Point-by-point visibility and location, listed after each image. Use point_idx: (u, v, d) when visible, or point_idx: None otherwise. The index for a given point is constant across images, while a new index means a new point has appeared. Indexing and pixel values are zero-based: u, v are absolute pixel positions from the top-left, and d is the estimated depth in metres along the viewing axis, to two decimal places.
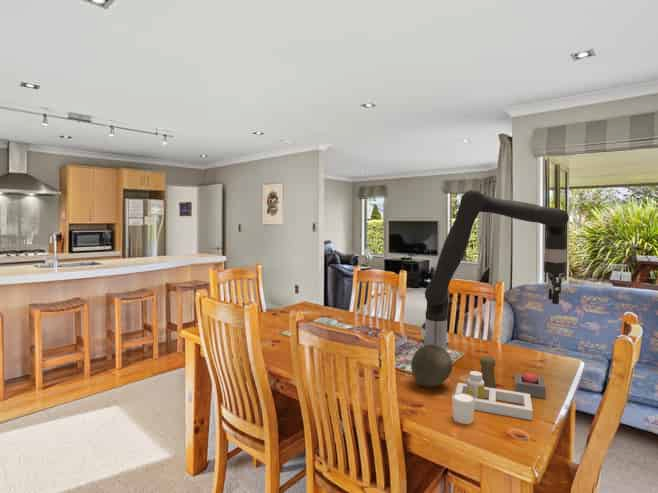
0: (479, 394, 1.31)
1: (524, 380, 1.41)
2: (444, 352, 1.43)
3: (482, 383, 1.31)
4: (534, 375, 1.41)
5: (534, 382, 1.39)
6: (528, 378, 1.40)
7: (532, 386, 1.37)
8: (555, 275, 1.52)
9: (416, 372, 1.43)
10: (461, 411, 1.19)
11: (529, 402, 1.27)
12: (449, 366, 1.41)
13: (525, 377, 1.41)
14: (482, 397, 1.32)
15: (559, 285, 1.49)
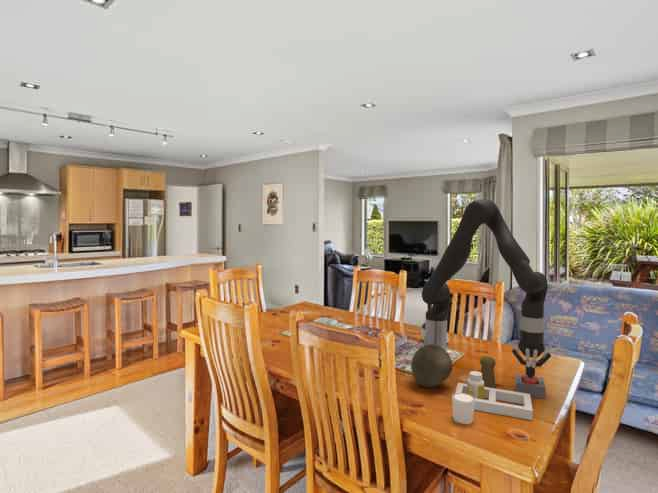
0: (479, 394, 1.31)
1: None
2: (444, 352, 1.43)
3: (482, 383, 1.31)
4: (534, 377, 1.41)
5: None
6: (528, 380, 1.40)
7: (532, 386, 1.37)
8: None
9: (416, 372, 1.43)
10: (461, 411, 1.19)
11: (529, 402, 1.27)
12: (449, 366, 1.41)
13: (525, 379, 1.41)
14: (482, 397, 1.32)
15: None
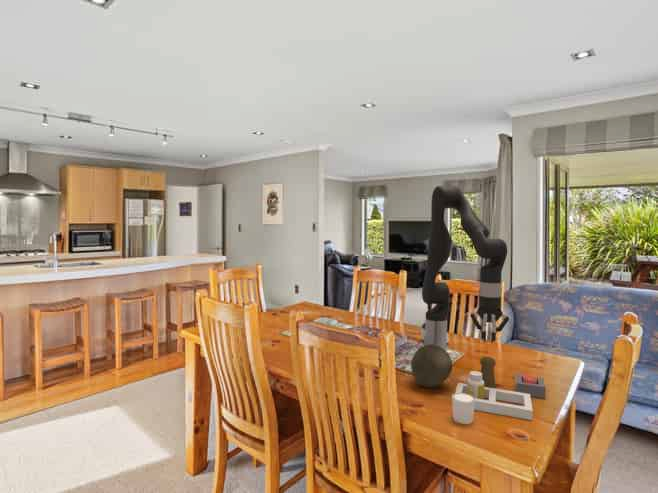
0: (479, 394, 1.31)
1: None
2: (444, 352, 1.43)
3: (482, 383, 1.31)
4: (534, 378, 1.41)
5: None
6: (528, 381, 1.40)
7: (532, 386, 1.37)
8: None
9: (416, 372, 1.43)
10: (461, 411, 1.19)
11: (529, 402, 1.27)
12: (449, 366, 1.41)
13: (525, 380, 1.41)
14: (482, 397, 1.32)
15: None
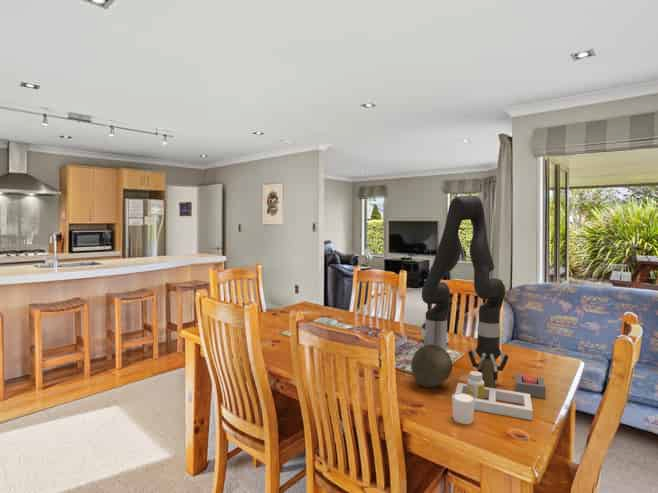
0: (479, 394, 1.31)
1: None
2: (444, 352, 1.43)
3: (482, 383, 1.31)
4: (534, 378, 1.41)
5: None
6: (528, 381, 1.40)
7: (532, 386, 1.37)
8: (499, 349, 1.43)
9: (416, 372, 1.43)
10: (461, 411, 1.19)
11: (529, 402, 1.27)
12: (449, 366, 1.41)
13: (525, 380, 1.41)
14: (482, 397, 1.32)
15: None
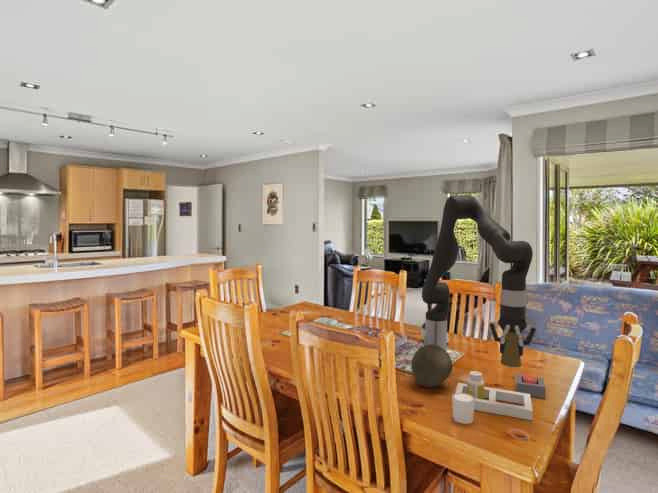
0: (479, 394, 1.31)
1: None
2: (444, 352, 1.43)
3: (482, 383, 1.31)
4: (534, 378, 1.41)
5: None
6: (528, 381, 1.40)
7: (532, 386, 1.37)
8: (525, 321, 1.26)
9: (416, 372, 1.43)
10: (461, 411, 1.19)
11: (529, 402, 1.27)
12: (449, 366, 1.41)
13: (525, 380, 1.41)
14: (482, 397, 1.32)
15: None
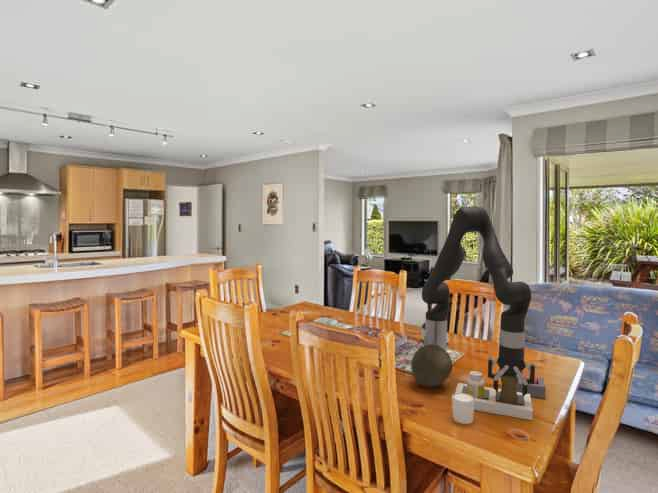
0: (479, 394, 1.31)
1: None
2: (444, 352, 1.43)
3: (482, 383, 1.31)
4: None
5: None
6: None
7: (532, 386, 1.37)
8: None
9: (416, 372, 1.43)
10: (461, 411, 1.19)
11: (529, 402, 1.27)
12: (449, 366, 1.41)
13: None
14: (482, 397, 1.32)
15: None
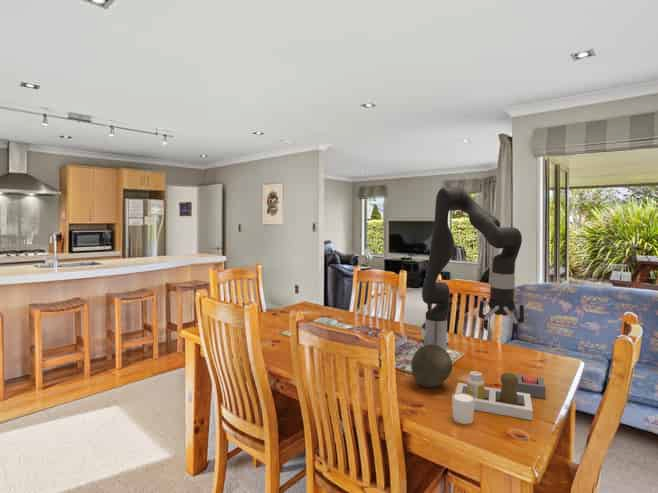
0: (479, 394, 1.31)
1: None
2: (444, 352, 1.43)
3: (482, 383, 1.31)
4: (534, 378, 1.41)
5: None
6: (528, 381, 1.40)
7: (532, 386, 1.37)
8: (513, 302, 1.35)
9: (416, 372, 1.43)
10: (461, 411, 1.19)
11: (529, 402, 1.27)
12: (449, 366, 1.41)
13: (525, 380, 1.41)
14: (482, 397, 1.32)
15: None
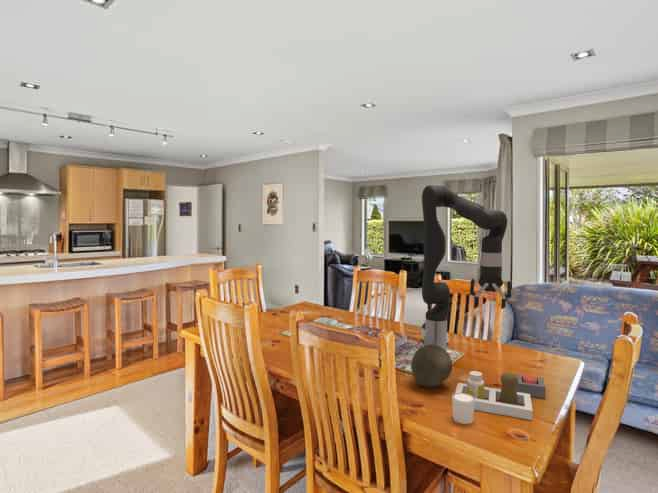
0: (479, 394, 1.31)
1: None
2: (444, 352, 1.43)
3: (482, 383, 1.31)
4: (534, 378, 1.41)
5: None
6: (528, 381, 1.40)
7: (532, 386, 1.37)
8: (501, 279, 1.46)
9: (416, 372, 1.43)
10: (461, 411, 1.19)
11: (529, 402, 1.27)
12: (449, 366, 1.41)
13: (525, 380, 1.41)
14: (482, 397, 1.32)
15: None
